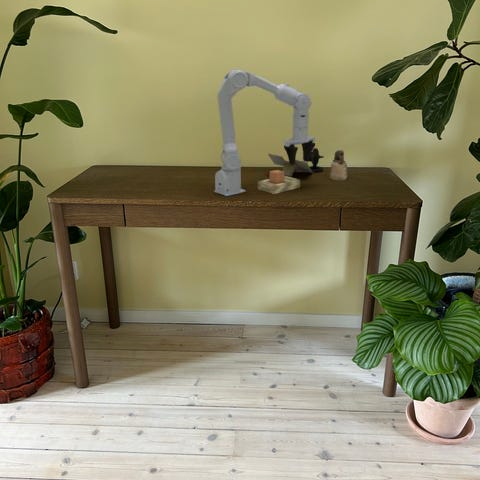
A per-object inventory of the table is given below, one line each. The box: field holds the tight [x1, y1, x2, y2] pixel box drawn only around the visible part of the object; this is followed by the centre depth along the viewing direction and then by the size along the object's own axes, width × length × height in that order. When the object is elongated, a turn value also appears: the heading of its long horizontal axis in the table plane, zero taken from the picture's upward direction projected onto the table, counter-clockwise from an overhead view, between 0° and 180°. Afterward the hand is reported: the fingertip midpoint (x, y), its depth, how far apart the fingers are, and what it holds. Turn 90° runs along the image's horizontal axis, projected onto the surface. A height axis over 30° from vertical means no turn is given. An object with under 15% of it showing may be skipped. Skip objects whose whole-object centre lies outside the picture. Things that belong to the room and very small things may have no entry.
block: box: [268, 169, 284, 184], centre depth 187 cm, size 4×4×7 cm
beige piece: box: [257, 176, 301, 195], centre depth 189 cm, size 14×9×3 cm, turn 130°
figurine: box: [329, 149, 348, 182], centre depth 200 cm, size 7×7×12 cm
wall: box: [267, 152, 314, 178], centre depth 206 cm, size 19×10×17 cm
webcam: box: [307, 147, 325, 173], centre depth 214 cm, size 8×8×10 cm
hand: (299, 162), depth 186 cm, fingers open, 7 cm apart
